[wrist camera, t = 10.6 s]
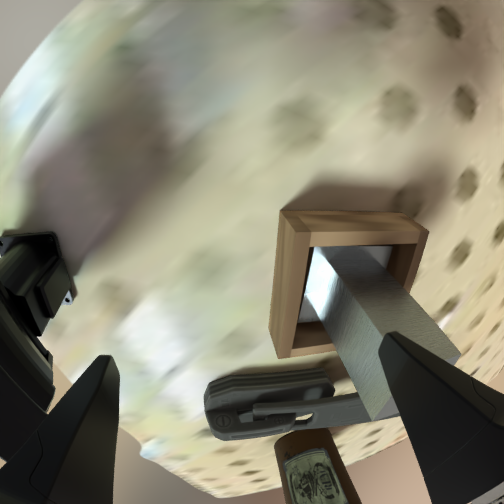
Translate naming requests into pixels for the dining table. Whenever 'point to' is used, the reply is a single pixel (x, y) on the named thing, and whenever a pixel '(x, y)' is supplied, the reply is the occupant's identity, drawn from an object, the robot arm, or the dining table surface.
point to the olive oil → (313, 469)
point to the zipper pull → (278, 404)
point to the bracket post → (366, 315)
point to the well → (332, 234)
